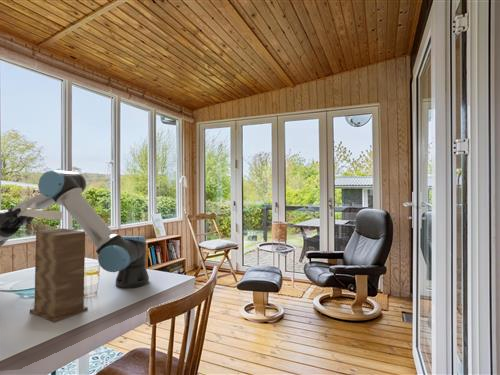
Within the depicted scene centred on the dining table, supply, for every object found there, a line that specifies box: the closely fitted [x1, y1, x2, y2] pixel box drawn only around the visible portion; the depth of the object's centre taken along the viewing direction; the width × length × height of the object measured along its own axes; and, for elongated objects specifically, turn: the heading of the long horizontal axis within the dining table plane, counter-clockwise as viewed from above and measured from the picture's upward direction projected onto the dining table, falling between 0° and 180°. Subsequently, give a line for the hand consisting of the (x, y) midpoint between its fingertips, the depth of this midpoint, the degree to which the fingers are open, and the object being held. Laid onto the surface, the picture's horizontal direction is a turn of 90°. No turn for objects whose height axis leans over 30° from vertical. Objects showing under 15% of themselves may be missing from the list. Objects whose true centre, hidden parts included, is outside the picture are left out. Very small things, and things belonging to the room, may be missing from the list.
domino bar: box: [16, 208, 63, 221], centre depth 117 cm, size 28×3×3 cm, turn 62°
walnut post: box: [29, 228, 89, 323], centre depth 110 cm, size 16×12×30 cm
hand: (30, 205), depth 120 cm, fingers closed on domino bar, 3 cm apart
